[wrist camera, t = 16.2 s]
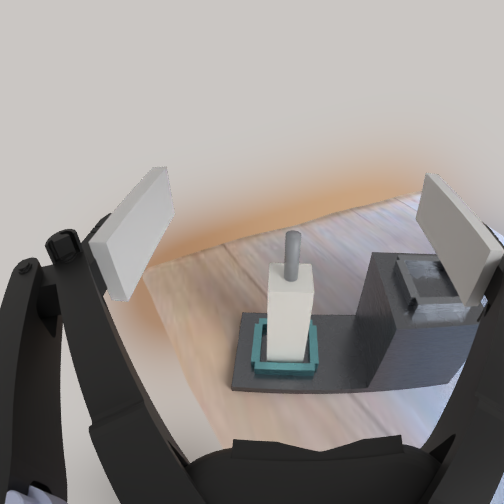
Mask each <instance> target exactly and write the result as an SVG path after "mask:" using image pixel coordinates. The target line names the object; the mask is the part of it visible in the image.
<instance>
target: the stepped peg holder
mask: <svg viewBox="0 0 504 504" xmlns="http://www.w3.org/2000/svg"><path fill="white" fill-rule="evenodd" d="M483 309H484V307H483V305H482V304H481V302H480V303H479V305H478V306H470V307H464V305H463V303H462V301H461V299H460V297H459V295H458V293H457V291H456V289H455V287H454V285H453V283H452V281H451V279H450V277H449V276H448V274H447V272H446V270H445V268H444V266H443V265H442V263H441V261H440V259H439V257H438V256H437V254H408V253H378V252H372V255H371V259H370V263H369V267H368V271H367V275H366V279H365V283H364V287H363V290H362V294H361V298H360V301H359V305H358V308H357V312H356V315H311V318H310V324H309V331H308V337H307V342H306V348H305V354H304V359H303V363H273V362H267V313H244V312H243V313H242V320H241V326H240V333H239V340H238V347H237V353H236V360H235V367H234V374H233V380H232V391H245V392H262V393H290V394H332V393H359V392H376V391H389V390H400V389H410V388H418V387H426V386H434V385H441V384H448V383H449V381H450V380H451V379H452V378H453V376H454V375H455V374H456V373H457V371H458V370H459V369H460V367H461V366H462V365H463V363H464V362H465V361H466V359H467V357H468V354H469V352H470V349H471V346H472V344H473V341H474V338H475V335H476V332H477V329H478V326H479V323H480V321H479V322H477V319H478V318H479V316H480V314H481V313H482V311H483Z"/></svg>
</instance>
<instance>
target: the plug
mask: <svg viewBox="0 0 504 504" xmlns="http://www.w3.org/2000/svg"><path fill="white" fill-rule="evenodd" d="M300 245H301V233H300V232H298V231H288V232H287V233H286V240H285V262H284V263H269V279H268V311H267V362H273V363H303V359H304V354H305V348H306V342H307V337H308V331H309V324H310V318H311V312H312V305H313V299H314V284H313V275H312V265H311V264H299V258H300Z"/></svg>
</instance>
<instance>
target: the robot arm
mask: <svg viewBox="0 0 504 504" xmlns="http://www.w3.org/2000/svg"><path fill="white" fill-rule="evenodd" d="M174 215H175V212H174V207H173V201H172V195H171V189H170V183H169V178H168V171H167V167H155V168H153V169H151V170H150V171H149V172H148V173H147V175H146V176H145V177H144V178H143V179H142V180H141V181H140V182H139V183H138V184H137V185H136V186H135V188H134V189H133V190H132V191H131V192H130V193H129V194H128V195H127V197H126V198H125V199H124V200H123V201H122V202H121V203H120V205H119V206H118V207H117V208H116V209H115V210H114V212H113V213H110V214H108V215H106V216H105V217H104V218H102V219H101V220H100V221H99V222H98V223H97V224H96V226H95V228H93V229H92V231H91V233H89V234H88V235H87V237H86V238H85V239H84V240H83V241H82V243H80V240H79V237H78V235H77V232H76V231H75V230H73V229H65V230H62V231H59V232H57V233H56V234H54V235H52V236H51V237H50V238H49V239H48V240H47V242H46V244H45V247H46V249H47V252H48V254H49V256H50V259H51V261H52V263H53V265H49V266H45V267H41V265H40V263H39V261H38V260H37V258H28V259H26V260H22V261H21V262H20V263H18V265H17V266H16V267H15V268H14V270H13V272H12V274H11V277H10V280H9V283H8V286H7V289H6V292H5V295H4V298H3V301H2V305H1V308H0V504H68V503H67V478H66V468H65V459H64V450H63V439H62V426H61V403H60V365H61V341H62V326H63V324H64V328H65V332H66V337H67V341H68V345H69V349H70V353H71V357H72V360H73V364H74V367H75V371H76V374H77V378H78V381H79V384H80V387H81V391H82V393H83V397H84V400H85V403H86V405H87V408H88V411H89V414H90V417H91V419H92V425H91V426H90V427H89V433H90V437H91V440H92V442H93V445H94V447H95V450H96V452H97V455H98V457H99V459H100V462H101V464H102V466H103V468H104V471H105V473H106V475H107V477H108V479H109V481H110V483H111V485H112V488H113V490H114V492H115V494H116V495H117V497H118V499H119V501H120V503H121V504H490V502H491V500H492V498H493V496H494V494H495V491H496V489H497V487H498V485H499V482H500V480H501V478H502V475H503V473H504V246H503V244H502V243H501V242H500V241H499V239H498V238H497V237H496V235H494V233H493V232H492V230H491V229H490V228H489V227H488V226H487V225H485V224H484V223H483V222H482V221H481V220H480V219H479V218H478V217H477V216H476V214H475V213H474V212H473V211H472V210H471V209H470V208H469V207H468V205H467V204H466V203H465V202H464V201H463V200H462V199H461V198H460V197H459V195H458V194H457V193H456V192H455V191H454V190H453V189H452V188H451V187H450V186H449V185H448V184H447V183H446V182H445V181H444V180H443V179H442V178H441V177H440V176H439V175H438V174H431V173H426V175H425V179H424V185H423V189H422V194H421V198H420V203H419V207H418V211H417V215H416V221H417V222H418V224H419V225H420V227H421V229H422V230H423V232H424V233H425V235H426V237H427V238H428V240H429V242H430V243H431V245H432V247H433V249H434V250H435V252H436V254H437V256H438V257H439V259H440V261H441V263H442V265H443V266H444V268H445V270H446V272H447V274H448V276H449V277H450V279H451V281H452V283H453V285H454V287H455V289H456V291H457V293H458V295H459V297H460V299H461V301H462V303H463V305H464V307H470V306H478V305H479V303H480V301H481V300H482V298H483V296H484V295H485V297H486V298H487V300H488V302H487V304H486V305H485V307H484V309H483V311H482V313H481V314H480V316H479V318H478V319H477V322H479V321H480V323H479V326H478V329H477V332H476V335H475V338H474V341H473V344H472V346H471V349H470V352H469V354H468V357H467V360H466V362H465V365H464V367H463V370H462V372H461V374H460V377H459V379H458V381H457V384H456V386H455V388H454V390H453V392H452V395H451V397H450V399H449V401H448V403H447V405H446V407H445V409H444V411H443V413H442V415H441V417H440V419H439V421H438V423H437V425H436V427H435V428H434V430H433V432H432V434H431V436H430V437H429V439H428V440H427V441H426V443H425V444H424V445H423V446H422V447H421V449H418V448H416V447H413V446H409V445H404V444H402V438H401V435H396V436H388V437H380V438H371V439H362V440H359V441H356V442H353V443H350V444H347V445H344V446H341V447H337V448H334V449H330V450H327V451H322V452H318V451H313V450H308V449H304V448H299V447H295V446H291V445H287V444H283V443H279V442H270V441H251V440H237V439H233V447H232V448H229V449H223V450H219V451H215V452H212V453H210V454H207V455H204V456H202V457H200V458H198V459H196V460H195V461H193V462H192V463H190V462H189V461H188V459H187V458H186V457H185V455H184V454H183V452H182V451H181V449H180V448H179V446H178V445H177V444H176V442H175V441H174V439H173V437H172V436H171V434H170V432H169V431H168V429H167V427H166V426H165V424H164V422H163V420H162V419H161V417H160V415H159V414H158V412H157V410H156V408H155V407H154V405H153V403H152V401H151V399H150V397H149V395H148V393H147V392H146V390H145V388H144V386H143V384H142V382H141V380H140V378H139V376H138V374H137V372H136V370H135V368H134V366H133V364H132V362H131V360H130V358H129V355H128V353H127V351H126V349H125V347H124V345H123V342H122V340H121V338H120V336H119V334H118V331H117V329H116V326H115V324H114V322H113V319H112V317H111V314H110V312H109V310H108V307H107V305H106V302H105V300H104V298H103V295H104V293H105V292H106V290H108V292H109V295H110V297H111V299H112V300H116V301H126V302H128V301H129V299H130V297H131V295H132V293H133V291H134V289H135V287H136V285H137V283H138V281H139V279H140V277H141V276H142V274H143V272H144V270H145V268H146V266H147V264H148V262H149V260H150V258H151V256H152V255H153V253H154V251H155V249H156V247H157V245H158V243H159V242H160V240H161V238H162V236H163V234H164V233H165V231H166V229H167V227H168V225H169V224H170V222H171V220H172V218H173V216H174Z"/></svg>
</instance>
